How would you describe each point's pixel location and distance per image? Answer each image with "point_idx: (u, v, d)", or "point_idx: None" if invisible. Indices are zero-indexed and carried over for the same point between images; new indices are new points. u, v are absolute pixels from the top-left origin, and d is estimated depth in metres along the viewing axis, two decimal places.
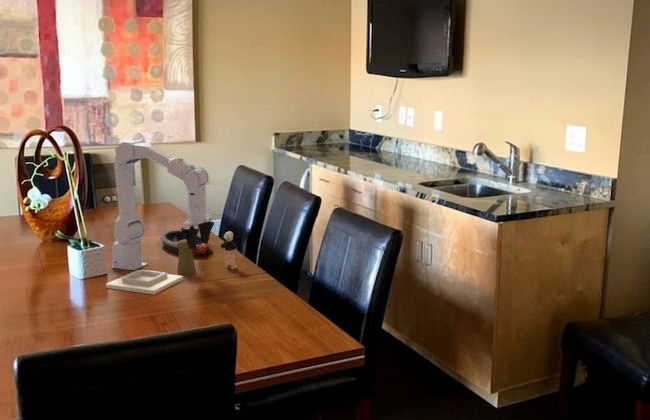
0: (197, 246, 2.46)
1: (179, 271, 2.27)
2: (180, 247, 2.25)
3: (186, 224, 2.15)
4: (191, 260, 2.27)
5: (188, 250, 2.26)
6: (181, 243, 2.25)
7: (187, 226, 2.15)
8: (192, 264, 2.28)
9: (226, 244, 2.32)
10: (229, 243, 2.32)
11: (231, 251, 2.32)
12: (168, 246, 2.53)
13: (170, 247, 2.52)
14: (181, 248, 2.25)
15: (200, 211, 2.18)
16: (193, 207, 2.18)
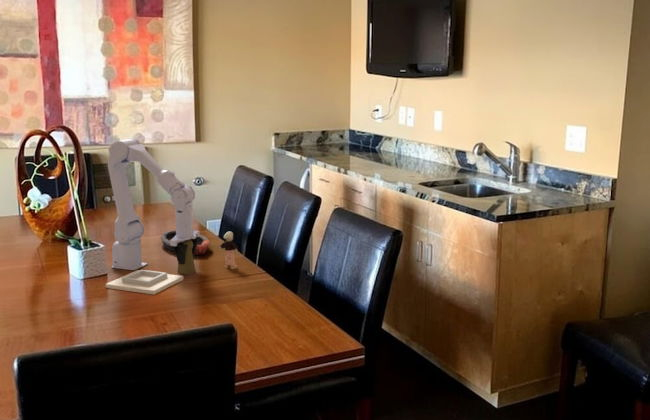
0: (197, 246, 2.46)
1: (179, 271, 2.27)
2: None
3: (173, 241, 2.20)
4: (191, 260, 2.27)
5: (188, 250, 2.26)
6: None
7: (174, 243, 2.20)
8: (192, 264, 2.28)
9: (226, 244, 2.32)
10: (229, 243, 2.32)
11: (231, 251, 2.32)
12: (168, 246, 2.53)
13: (170, 247, 2.52)
14: None
15: (187, 228, 2.24)
16: (180, 224, 2.23)
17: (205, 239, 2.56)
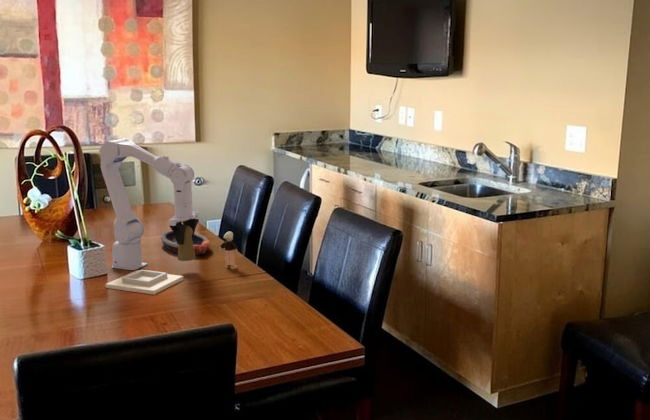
0: (197, 246, 2.46)
1: (179, 258, 2.26)
2: None
3: (172, 221, 2.19)
4: (191, 246, 2.26)
5: (188, 236, 2.25)
6: None
7: (173, 222, 2.19)
8: (192, 251, 2.27)
9: (226, 244, 2.32)
10: (229, 243, 2.32)
11: (231, 251, 2.32)
12: (168, 246, 2.53)
13: (170, 247, 2.52)
14: None
15: (186, 208, 2.22)
16: (179, 204, 2.22)
17: (205, 239, 2.56)
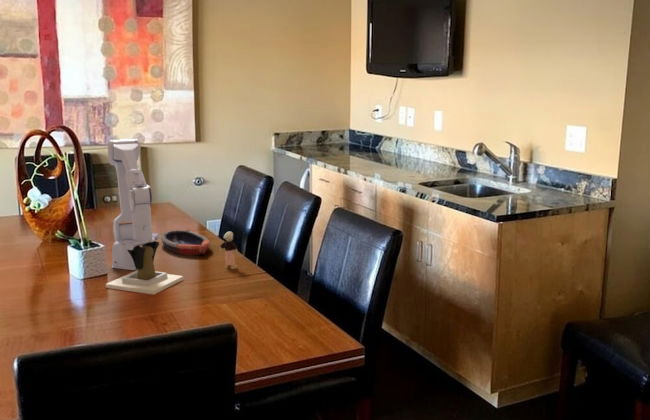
0: (197, 246, 2.46)
1: None
2: None
3: (129, 244, 2.07)
4: (151, 267, 2.14)
5: (148, 257, 2.13)
6: None
7: (130, 247, 2.07)
8: (152, 272, 2.15)
9: (226, 244, 2.32)
10: (229, 243, 2.32)
11: (231, 251, 2.32)
12: (168, 246, 2.53)
13: (170, 247, 2.52)
14: None
15: (144, 231, 2.11)
16: (137, 227, 2.10)
17: (205, 239, 2.56)
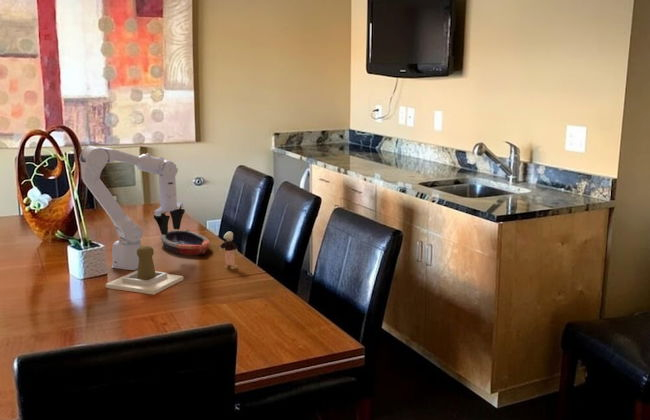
0: (197, 246, 2.46)
1: None
2: (139, 254, 2.12)
3: (157, 211, 2.33)
4: (151, 267, 2.14)
5: (148, 257, 2.13)
6: (140, 250, 2.12)
7: (158, 213, 2.33)
8: (152, 272, 2.15)
9: (226, 244, 2.32)
10: (229, 243, 2.32)
11: (231, 251, 2.32)
12: (168, 246, 2.53)
13: (170, 247, 2.52)
14: (140, 255, 2.12)
15: (170, 199, 2.36)
16: (164, 196, 2.36)
17: (205, 239, 2.56)
